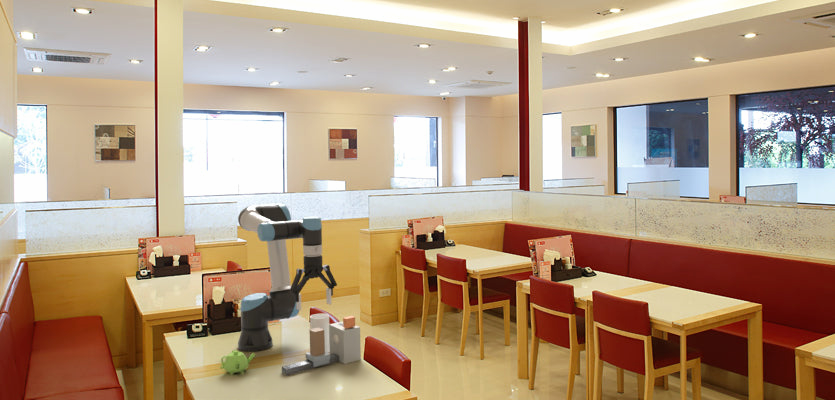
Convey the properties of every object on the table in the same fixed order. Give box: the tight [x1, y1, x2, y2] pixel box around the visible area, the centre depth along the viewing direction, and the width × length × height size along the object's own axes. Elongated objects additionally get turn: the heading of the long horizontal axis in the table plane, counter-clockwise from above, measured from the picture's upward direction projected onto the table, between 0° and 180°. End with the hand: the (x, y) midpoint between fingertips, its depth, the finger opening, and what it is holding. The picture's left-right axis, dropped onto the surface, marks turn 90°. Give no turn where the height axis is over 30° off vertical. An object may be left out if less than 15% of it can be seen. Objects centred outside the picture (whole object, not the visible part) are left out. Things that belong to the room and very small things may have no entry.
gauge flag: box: [342, 315, 356, 328], centre depth 241 cm, size 2×4×4 cm, turn 129°
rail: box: [281, 353, 340, 376], centre depth 236 cm, size 4×24×2 cm, turn 129°
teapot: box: [219, 350, 256, 376], centre depth 232 cm, size 11×12×8 cm
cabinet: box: [329, 320, 362, 365], centre depth 245 cm, size 12×8×14 cm
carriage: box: [305, 328, 330, 367], centre depth 237 cm, size 8×7×14 cm
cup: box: [309, 313, 330, 354], centre depth 254 cm, size 8×8×16 cm
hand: (314, 306), depth 235 cm, fingers open, 13 cm apart
